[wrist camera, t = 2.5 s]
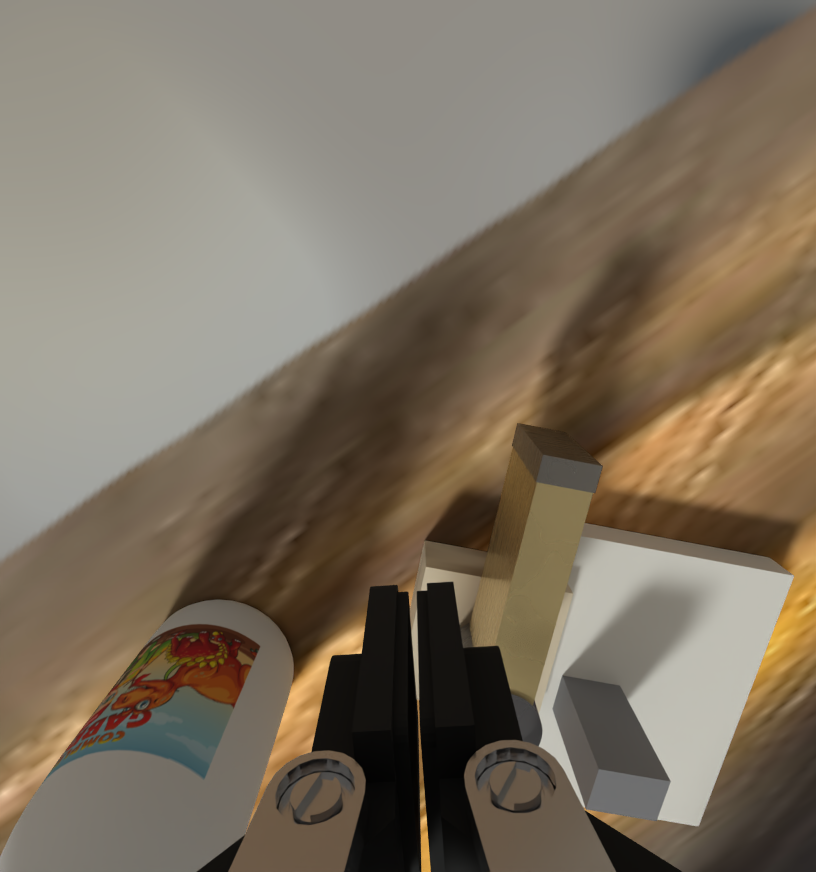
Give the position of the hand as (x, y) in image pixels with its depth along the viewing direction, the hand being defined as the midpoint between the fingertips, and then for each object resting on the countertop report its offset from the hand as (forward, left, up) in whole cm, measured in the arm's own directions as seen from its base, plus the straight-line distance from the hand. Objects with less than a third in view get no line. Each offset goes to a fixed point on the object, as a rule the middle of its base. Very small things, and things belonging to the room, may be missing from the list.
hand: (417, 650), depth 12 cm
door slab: (-14, +10, -18) cm, 24 cm away
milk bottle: (+8, +14, -18) cm, 24 cm away
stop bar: (-5, +4, -14) cm, 16 cm away
